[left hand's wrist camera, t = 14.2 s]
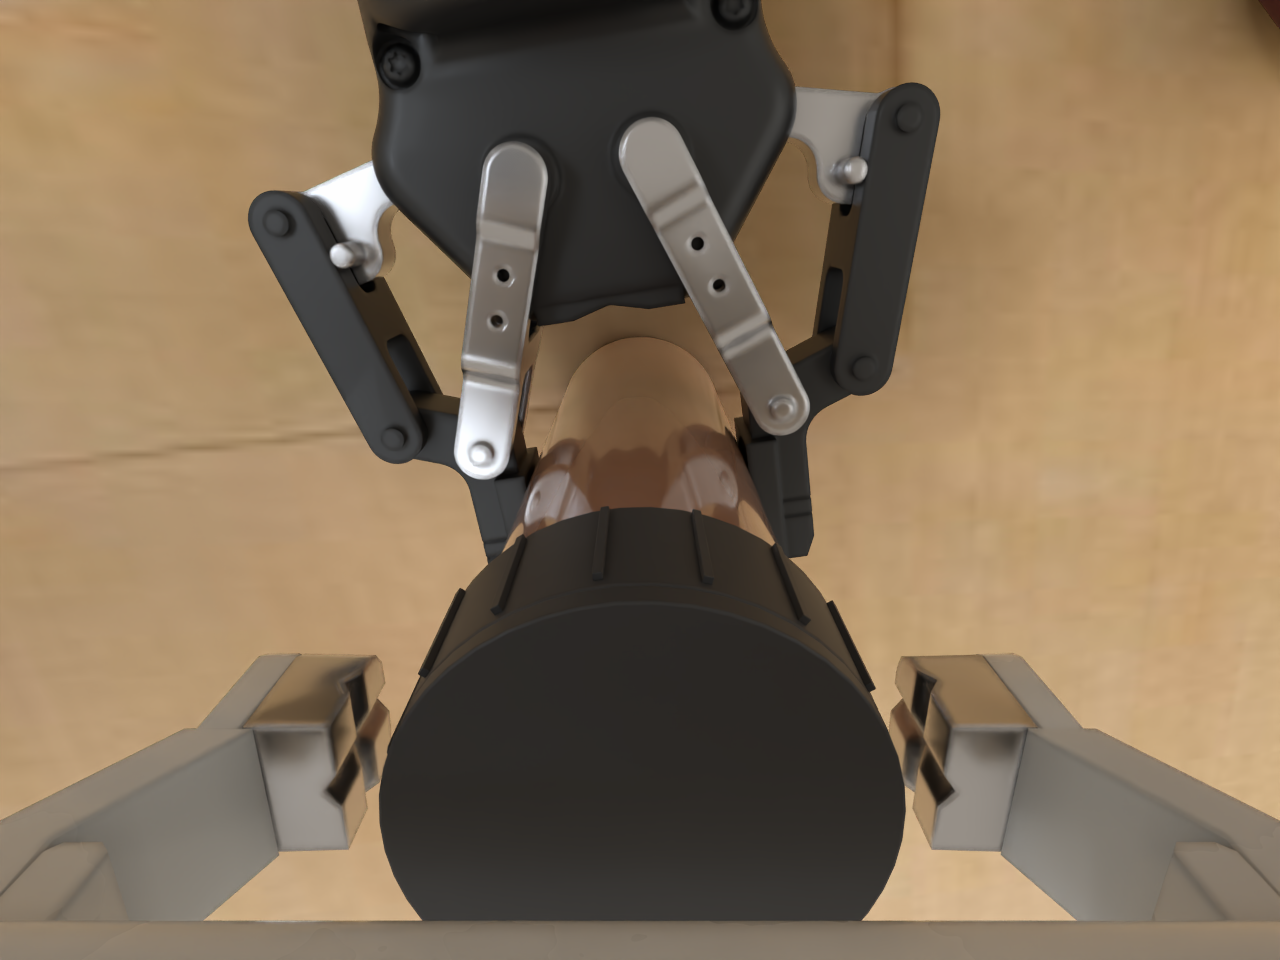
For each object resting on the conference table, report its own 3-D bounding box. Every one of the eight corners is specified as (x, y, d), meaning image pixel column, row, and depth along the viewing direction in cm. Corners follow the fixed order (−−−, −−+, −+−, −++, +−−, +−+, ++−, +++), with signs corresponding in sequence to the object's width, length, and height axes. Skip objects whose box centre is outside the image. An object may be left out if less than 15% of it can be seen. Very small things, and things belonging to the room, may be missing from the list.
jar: (633, 302, 23) (619, 507, 7) (751, 408, 24) (949, 774, 9) (531, 421, 24) (339, 804, 9) (647, 516, 25) (658, 1001, 10)
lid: (359, 585, 10) (274, 702, 7) (781, 439, 9) (829, 518, 7) (532, 893, 12) (506, 1061, 9) (893, 791, 11) (961, 947, 9)
